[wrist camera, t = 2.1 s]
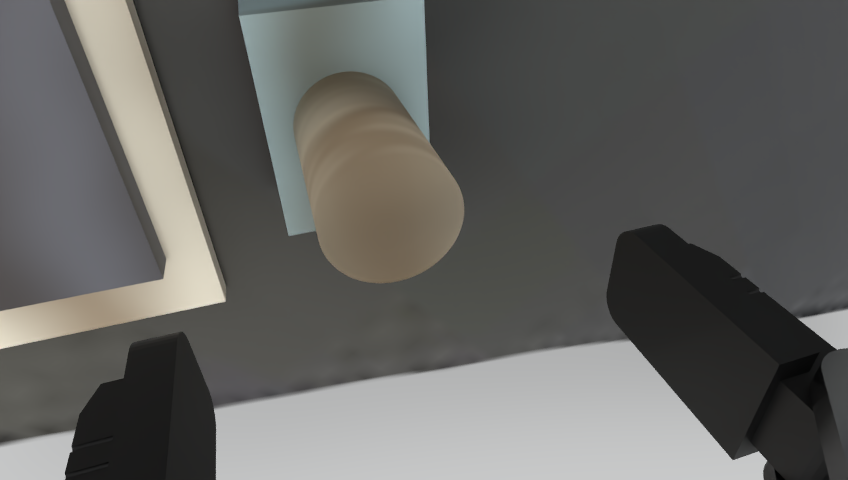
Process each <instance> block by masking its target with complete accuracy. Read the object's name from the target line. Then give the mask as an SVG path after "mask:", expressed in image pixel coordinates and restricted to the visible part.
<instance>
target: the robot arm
mask: <svg viewBox="0 0 848 480" xmlns="http://www.w3.org/2000/svg"><path fill="white" fill-rule="evenodd" d="M607 304H608V308H609V311H610V314H611V316H612V318H613V320H614V321H615V323H616V324H617V325H618V326H619V328H620V329H621V330H622V331H623V332H624V333H625V335H626V336H627V337H628V338H629V339H630V340H631V342H632V343H633V344H634V345H635V346H636V347H637V349H638V350H639V351H640V352H641V353H642V354H643V356H644V357H645V358H646V359H647V360H648V361H649V363H650V364H651V365H652V366H653V367H654V368H655V370H656V371H657V372H658V373H659V374H660V375H661V377H662V378H663V379H664V380H665V381H666V382H667V384H668V385H669V386H670V387H671V388H672V389H673V391H674V392H675V393H676V394H677V395H678V396H679V398H680V399H681V400H682V401H683V402H684V403H685V405H686V406H687V407H688V408H689V409H690V410H691V412H692V413H693V414H694V415H695V416H696V418H697V419H698V420H699V421H700V422H701V423H702V424H703V426H704V427H705V428H706V429H707V430H708V432H710V434H711V435H712V436H713V437H714V439H715V440H716V441H717V442H718V443H719V444H720V446H721V447H722V448H723V449H724V450H725V451H726V453H727V454H728V455H729V456H730V457H731V458H732V459H733V460H735V459H737V458H740V457H743V456H746V455H749V454H752V453H755V452H758V451H759V452H760V453H761V454H762V455H763V456H764V457H765V458H766V460H767V462H766V464H765V466H764V470H763V477H764V480H848V348H846V349H838V350H837V349H835V348H834V347H832V346H831V345H830V344H829V343H827V342H826V341H825V340H823V339H822V338H821V337H820V336H819V335H817V334H816V333H815V332H814V331H812V330H811V329H810V328H808V327H807V326H806V325H805V324H803V323H802V322H801V321H800V320H798V319H797V318H796V317H795V316H793V315H792V314H791V313H790V312H788V311H787V310H786V309H785V308H783V307H782V306H781V305H780V304H778V303H777V302H776V301H775V300H773V299H772V298H771V297H769V296H768V295H767V294H766V293H764V292H762V293H761V292H760V291H759V288H758V287H757V286H756V285H754V284H753V283H752V282H751V281H749V280H748V279H747V278H746V277H745V278H742V277H741V273H739V272H738V271H737V270H735V269H734V268H733V267H732V266H730V265H729V264H728V263H727V262H725V261H724V260H723V259H722V258H720V257H719V256H717V255H715V254H713V253H710V252H708V251H706V250H704V249H702V248H700V247H697V246H695V245H693V244H688V243H686V242H685V241H684V240H683V239H682V238H680V237H679V236H678V235H677V234H675V233H674V232H673V231H672V230H671V229H669V228H668V227H667V226H664V225H661V224H657V225H652V226H648V227H644V228H639V229H635V230H631V231H626V232H623V233H622V234H620V236H619V237H618V239H617V243H616V248H615V253H614V258H613V263H612V268H611V273H610V278H609V283H608V288H607ZM72 450H73V451H72V452H71V453H70V455H69V459H68V463H67V467H66V471H65V475H66V480H216V422H215V414H214V408H213V403H212V399H211V395H210V392H209V390H208V387H207V385H206V382H205V380H204V378H203V375H202V373H201V370H200V368H199V365H198V363H197V361H196V358H195V356H194V353H193V351H192V348H191V346H190V343H189V341H188V339H187V337H186V335H185V334H184V333H183V332H177V333H173V334H168V335H164V336H160V337H155V338H151V339H147V340H142V341H138V342H134V343H132V344H131V346H130V348H129V353H128V358H127V364H126V369H125V375H124V378H123V379H119V380H115V381H111V382H107V383H103V384H101V385H100V386H99V388H98V389H97V390H96V392H95V393H94V395H93V396H92V397H91V399H90V400H89V402H88V403H87V405H86V406H85V407H84V409H83V410H82V412H81V413H80V415H79V419H78V423H77V427H76V431H75V435H74V439H73V443H72Z"/></svg>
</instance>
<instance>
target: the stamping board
mask: <svg viewBox="0 0 848 480" xmlns="http://www.w3.org/2000/svg"><path fill="white" fill-rule="evenodd" d="M225 301H226V284H225V281H224V278H223V275H222V272H221V269H220V266H219V263H218V260H217V257H216V254H215V251H214V248H213V245H212V242H211V238H210V235H209V232H208V229H207V226H206V223H205V220H204V217H203V214H202V211H201V208H200V205H199V202H198V199H197V196H196V192H195V189H194V186H193V183H192V180H191V177H190V174H189V171H188V168H187V165H186V162H185V159H184V156H183V153H182V150H181V147H180V143H179V140H178V137H177V134H176V131H175V128H174V125H173V122H172V119H171V116H170V113H169V110H168V107H167V104H166V101H165V97H164V94H163V91H162V88H161V85H160V82H159V79H158V76H157V73H156V70H155V67H154V64H153V61H152V58H151V55H150V52H149V48H148V45H147V42H146V39H145V36H144V33H143V30H142V27H141V24H140V21H139V18H138V15H137V12H136V9H135V6H134V3H133V0H0V349H2V348H6V347H11V346H16V345H21V344H25V343H30V342H35V341H40V340H44V339H49V338H54V337H59V336H63V335H68V334H73V333H78V332H82V331H87V330H92V329H97V328H102V327H106V326H111V325H116V324H121V323H125V322H130V321H135V320H140V319H144V318H149V317H154V316H159V315H163V314H168V313H173V312H178V311H183V310H187V309H192V308H197V307H202V306H206V305H211V304H216V303H221V302H225Z"/></svg>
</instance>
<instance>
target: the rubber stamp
mask: <svg viewBox="0 0 848 480" xmlns="http://www.w3.org/2000/svg"><path fill="white" fill-rule="evenodd" d="M238 8H239V18H240V23H241V27H242V32H243V36H244V40H245V45H246V49H247V54H248V58H249V63H250V67H251V71H252V76H253V80H254V85H255V89H256V93H257V98H258V102H259V107H260V111H261V116H262V120H263V124H264V129H265V133H266V138H267V142H268V146H269V151H270V155H271V160H272V164H273V169H274V173H275V177H276V182H277V186H278V191H279V195H280V200H281V204H282V208H283V213H284V217H285V222H286V226H287V230H288V235H289V236H291V235H297V234H302V233H307V232H312V231H316V232H317V236H318V240H319V244H320V247H321V249H322V251H323V253H324V255H325V257H326V258H327V260H328V261H329V262H330V263H331V264H332V265H333V266H334V267H335V268H336V269H338V270H339V271H340V272H342V273H343V274H345V275H347V276H349V277H351V278H354V279H356V280H360V281H364V282H370V283H391V282H397V281H401V280H405V279H408V278H411V277H413V276H416V275H418V274H420V273H422V272H424V271H425V270H427V269H429V268H430V267H432V266H433V265H434V264H436V263H437V262H438V261H439V260H440V259H441V258H442V257H443V256H444V255H445V254H446V253H447V252H448V251H449V250H450V248H451V247H452V245H453V244H454V242H455V241H456V239H457V237H458V235H459V233H460V230H461V227H462V223H463V219H464V201H463V196H462V193H461V190H460V188H459V186H458V184H457V182H456V181H455V179H454V178H453V176H452V175H451V173H450V172H449V170H448V169H447V167H446V166H445V165H444V163H443V162H442V160H441V159H440V157H439V156H438V155H437V153H436V152H435V150H434V149H433V147H432V146H431V144H430V141H429V115H428V89H427V64H426V38H425V12H424V0H238Z"/></svg>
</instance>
